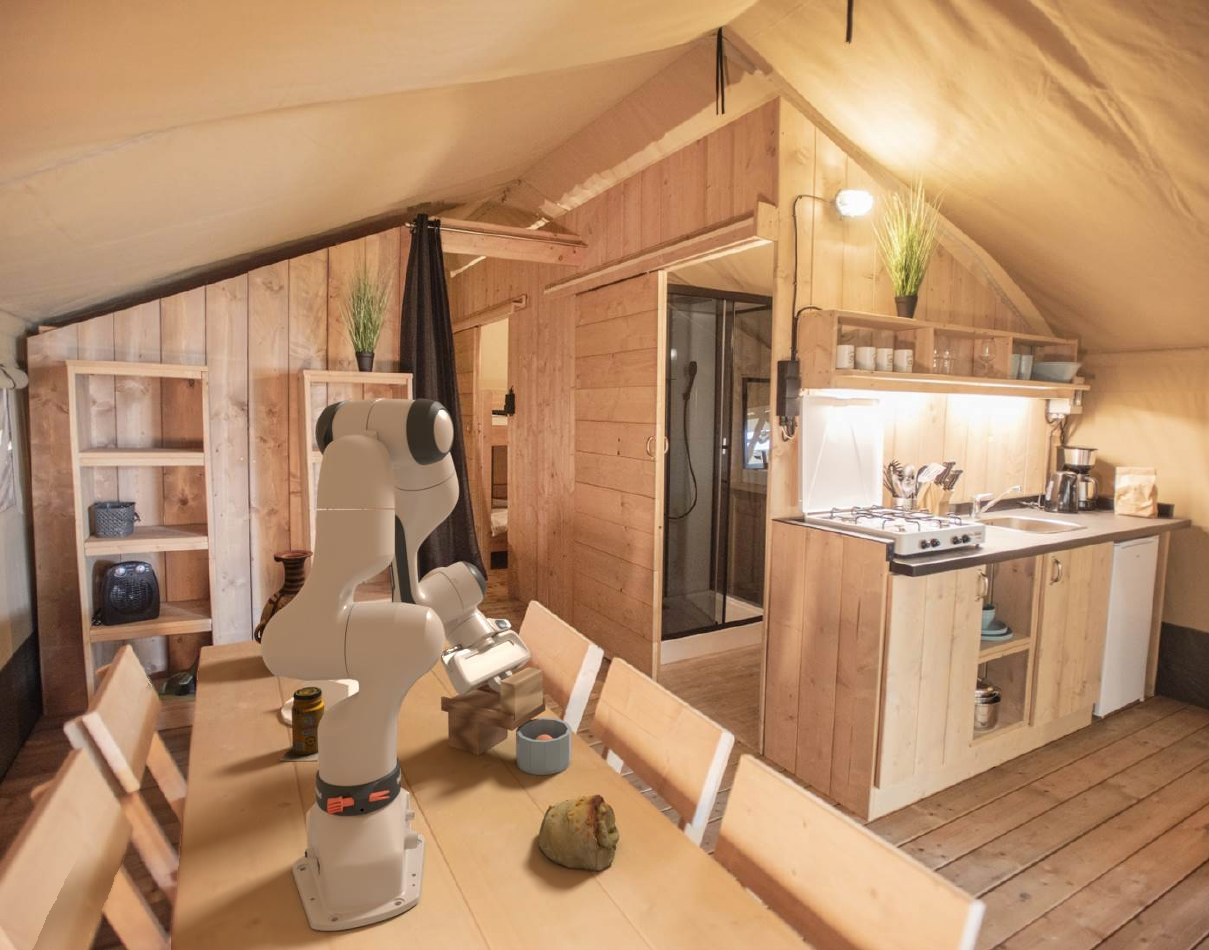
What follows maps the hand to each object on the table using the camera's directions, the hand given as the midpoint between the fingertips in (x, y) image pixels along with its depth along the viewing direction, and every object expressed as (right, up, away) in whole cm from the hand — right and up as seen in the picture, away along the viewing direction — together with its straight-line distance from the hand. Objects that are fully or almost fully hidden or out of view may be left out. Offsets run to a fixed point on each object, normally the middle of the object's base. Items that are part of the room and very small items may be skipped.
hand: (511, 695), depth 139 cm
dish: (-42, -10, +23) cm, 49 cm away
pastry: (+14, -15, -30) cm, 36 cm away
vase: (-65, -7, +52) cm, 83 cm away
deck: (-4, -11, +3) cm, 13 cm away
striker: (+2, -3, -1) cm, 4 cm away
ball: (+7, -9, -3) cm, 12 cm away
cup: (+7, -12, -3) cm, 14 cm away
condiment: (-41, -12, +1) cm, 43 cm away
